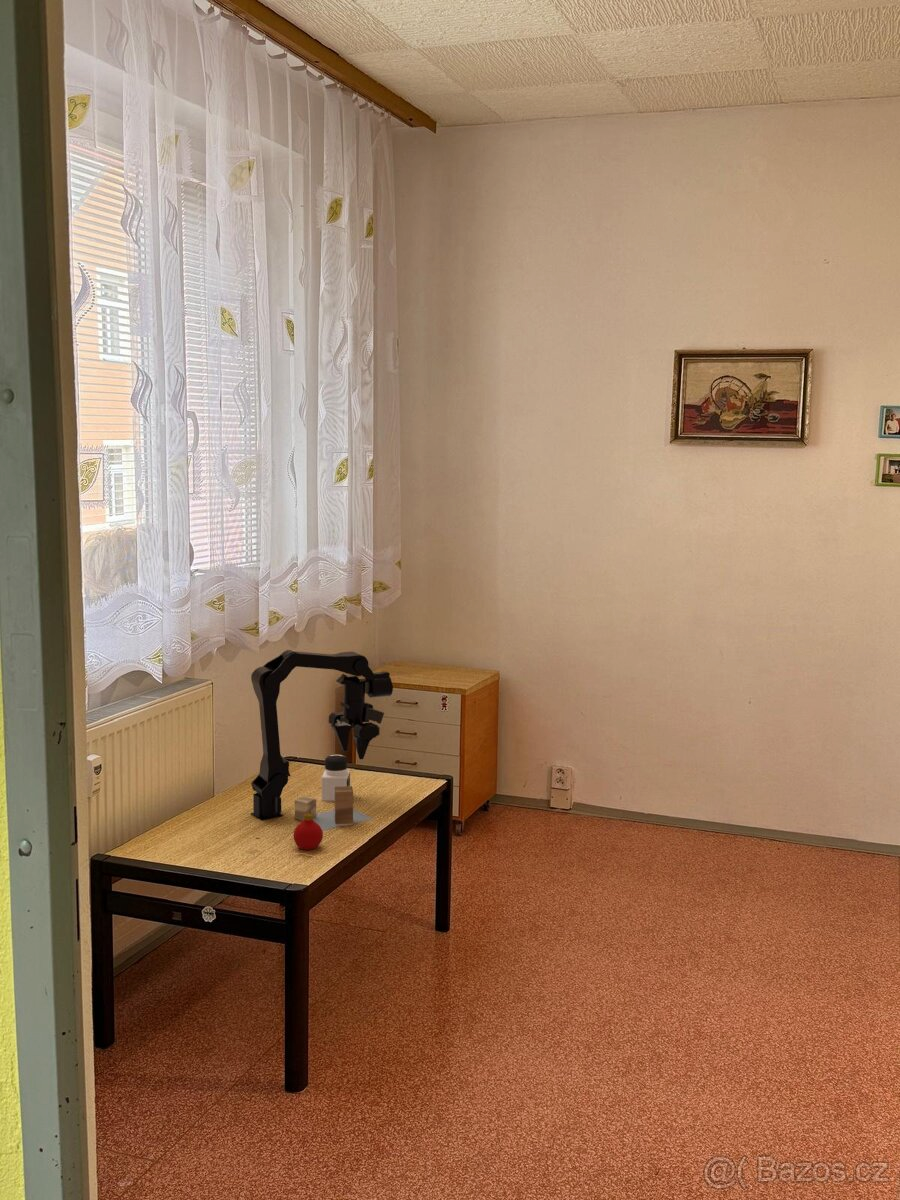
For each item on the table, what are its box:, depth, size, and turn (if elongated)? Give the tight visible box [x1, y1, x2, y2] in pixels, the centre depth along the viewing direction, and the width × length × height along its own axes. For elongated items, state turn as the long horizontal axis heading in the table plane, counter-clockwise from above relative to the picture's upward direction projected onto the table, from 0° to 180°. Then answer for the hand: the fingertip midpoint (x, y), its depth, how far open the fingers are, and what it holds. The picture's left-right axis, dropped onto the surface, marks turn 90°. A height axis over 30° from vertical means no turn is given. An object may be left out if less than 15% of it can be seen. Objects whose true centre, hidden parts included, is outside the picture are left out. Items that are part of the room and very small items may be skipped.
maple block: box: [294, 795, 317, 822], centre depth 298 cm, size 4×4×5 cm
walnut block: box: [334, 785, 354, 827], centre depth 295 cm, size 4×4×9 cm
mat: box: [300, 808, 374, 832], centre depth 298 cm, size 16×12×1 cm
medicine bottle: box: [321, 754, 351, 802], centre depth 315 cm, size 7×7×12 cm
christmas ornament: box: [293, 810, 324, 851], centre depth 276 cm, size 7×7×10 cm
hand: (353, 754), depth 310 cm, fingers open, 9 cm apart
